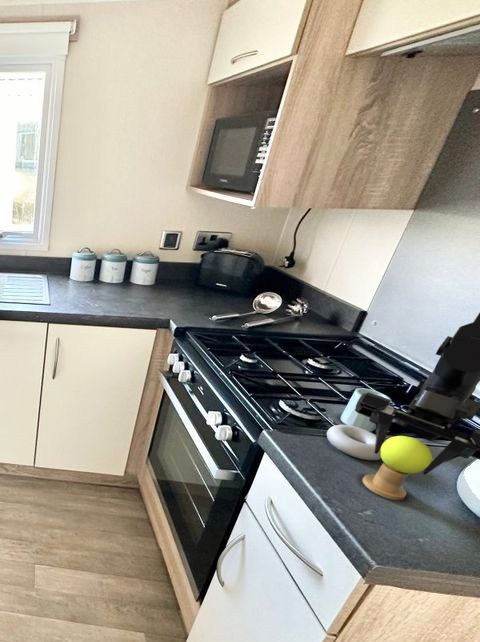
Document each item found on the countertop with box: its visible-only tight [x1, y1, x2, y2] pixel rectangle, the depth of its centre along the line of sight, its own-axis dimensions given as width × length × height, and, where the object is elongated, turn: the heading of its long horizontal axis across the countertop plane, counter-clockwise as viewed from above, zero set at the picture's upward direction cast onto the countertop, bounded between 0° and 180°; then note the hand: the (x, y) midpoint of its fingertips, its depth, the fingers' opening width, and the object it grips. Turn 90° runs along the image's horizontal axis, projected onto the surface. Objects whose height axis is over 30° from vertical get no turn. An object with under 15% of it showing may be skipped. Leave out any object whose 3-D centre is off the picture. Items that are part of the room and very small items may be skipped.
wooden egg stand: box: [362, 462, 410, 501], centre depth 77 cm, size 6×6×5 cm
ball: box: [380, 435, 433, 474], centre depth 75 cm, size 7×7×7 cm
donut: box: [326, 424, 382, 461], centre depth 88 cm, size 10×4×10 cm
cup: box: [340, 387, 392, 432], centre depth 96 cm, size 6×6×8 cm
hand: (399, 463), depth 75 cm, fingers closed on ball, 6 cm apart
